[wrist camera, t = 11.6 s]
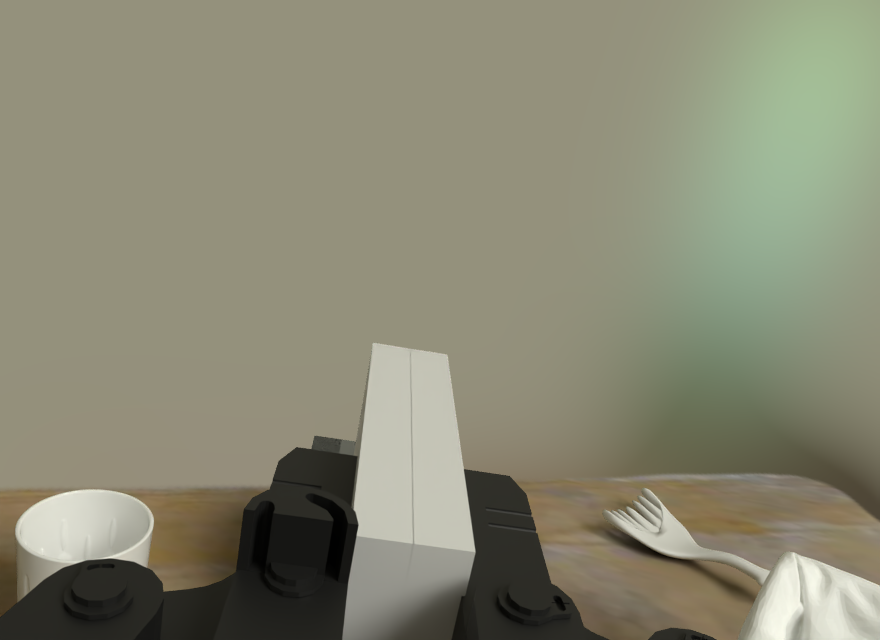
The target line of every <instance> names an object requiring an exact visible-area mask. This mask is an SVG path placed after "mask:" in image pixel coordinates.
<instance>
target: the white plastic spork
mask: <svg viewBox="0 0 880 640" xmlns="http://www.w3.org/2000/svg"><path fill="white" fill-rule="evenodd" d="M641 492H642V494H643V496H644V497H645V498H646V499H647V500H646V499H645V498H643V497H641V496H637V497H638V500H639V501H640V503H641V504H642V505H643V506H642V505H641V504H639V503H638V502H636V501H632V502H633V505H634V506H635V508H636V509H637V510H638V512H639V513H640V514H641V515H642V516H643V517H642V516H641V515H640V514H638V513H637V512H636V511H634V510H633V509H631V508H630V507H626V510H627V512H628V514H629V515H630V516H628V515H627V514H626V513H625V512H623V511H621V510H619V509H617V512H618V513H617V512H615V511H613V510H612V511H611V512H609V511H607V510H603V516H604V518H605V519H606V520H607V521H608V522H609V523H610V524H612V525H613V526H615V527H616V528H618V529H619V530H621V531H622V532H624V533H626V534H628V535H629V536H631V537H633V538H635V539H636V540H638V541H639V542H641V543H642V544H644V545H646V546H647V547H649V548H651V549H653V550H655V551H656V552H658V553H661V554H663V555H666V556H669V557H673V558H679V559H688V560H702V561H712V562H718V563H722V564H726V565H729V566H731V567H734V568H736V569H738V570H740V571H741V572H743V573H745V574H747V575H748V576H750V577H752V578H753V579H754V580H756V581H757V582H758V584H759V585H760V586H761V587H762V585H763V583H764V581H765V580H766V578H767V576H768V574H769V573H770V571H771V570H766V569H763V568H761V567H758V566H756V565H754V564H752V563H750V562H748V561H746V560H745V559H743V558H741V557H738V556H735V555H733V554H729V553H726V552H721V551H716V550H710V549H706V548H702V547H700V546H699V545H697V544H696V542H695V541H694V540H693V539H692V537H691V536H690V534H689V533H688V531H687V530H686V529H685V527H684V526H683V525H682V524H681V523H680V522H679V521H678V520H677V519H676V518H674V517H673V516H672V515H671V513H670V512H669V511H668V510H667V509H666V507H665V506H664V505H663V504H662V503H661V501H660V500H659V499H658V498H657V497H656V496H655V495H654V493H652V492H651V491H650V490H648V489H647V488H642V490H641Z"/></svg>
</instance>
